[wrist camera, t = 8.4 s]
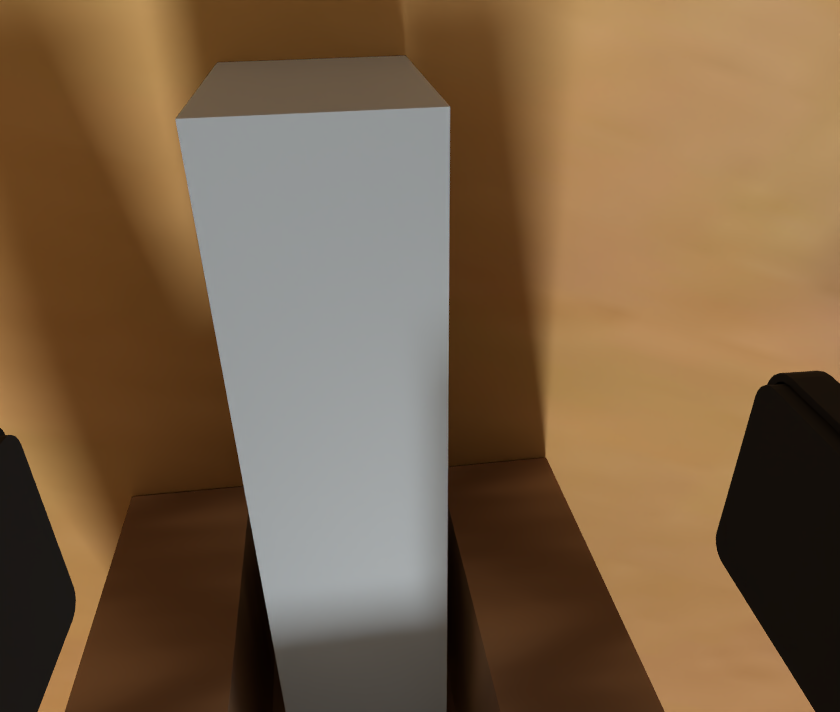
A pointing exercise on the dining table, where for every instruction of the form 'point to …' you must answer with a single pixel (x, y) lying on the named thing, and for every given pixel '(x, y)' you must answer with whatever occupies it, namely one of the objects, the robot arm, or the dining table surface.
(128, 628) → the brown wooden u-shaped block
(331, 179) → the rail
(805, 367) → the dining table surface
